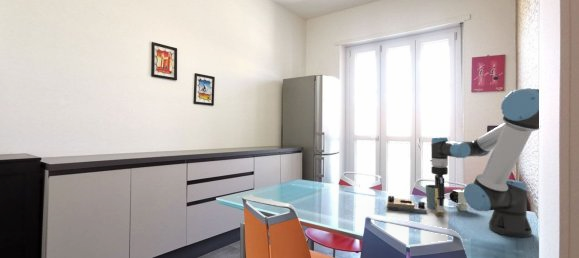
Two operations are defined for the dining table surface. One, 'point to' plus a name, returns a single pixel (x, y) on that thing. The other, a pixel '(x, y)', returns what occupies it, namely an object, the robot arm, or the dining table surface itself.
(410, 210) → the brown block with knobs
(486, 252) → the dining table surface
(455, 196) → the white camera
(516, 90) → the robot arm
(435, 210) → the brass pin
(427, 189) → the grey green open container
